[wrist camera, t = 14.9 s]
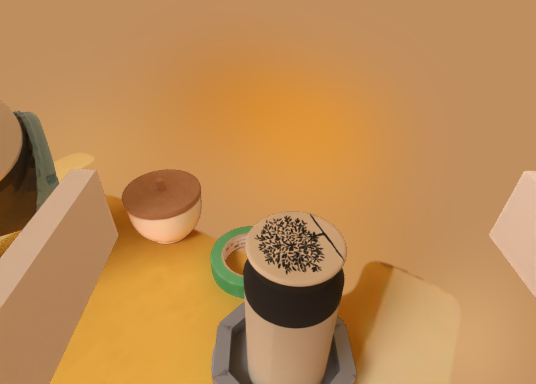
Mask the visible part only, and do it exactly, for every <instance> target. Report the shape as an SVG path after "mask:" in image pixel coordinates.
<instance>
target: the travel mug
mask: <svg viewBox="0 0 536 384" xmlns="http://www.w3.org/2000/svg"><path fill="white" fill-rule="evenodd" d="M245 250H246V255H247V258H248V259H247V261H246V263H245V266H244V271H243V279H244V299H245V319H246V339H247V359H248V373H249V377H250V380H251V382H252V384H322V382H323V379H324V374H325V370H326V365H327V360H328V356H329V351H330V347H331V342H332V337H333V333H334V328H335V323H336V319H337V314H338V310H339V305H340V300H341V296H342V291H343V286H344V273H343V269H342V266H343V265H344V263H345V260H346V256H347V247H346V243H345V240H344V238H343V236H342V234H341V233H340V232H339V231H338V229H337V228H336V227H335V226H334V225H332V224H331V223H330V222H328V221H326V220H325V219H323V218H321V217H319V216H316V215H313V214H309V213H304V212H296V211H289V212H281V213H277V214H272V215H270V216H267V217H265V218H263V219H262V220H260V221H259V222H257V223H256V224H255V225H254V226H253V227H252V229H251V230H250V231H249V233H248V235H247V238H246V242H245Z"/></svg>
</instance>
